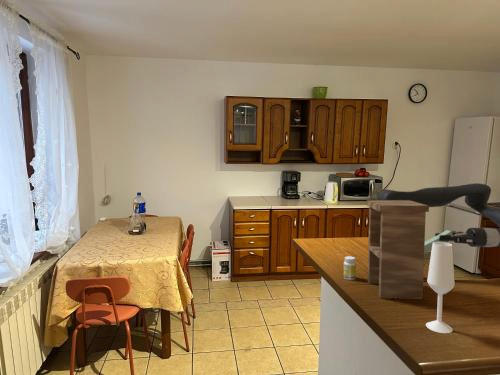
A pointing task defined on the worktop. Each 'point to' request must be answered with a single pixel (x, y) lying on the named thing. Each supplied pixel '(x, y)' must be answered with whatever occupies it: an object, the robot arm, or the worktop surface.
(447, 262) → the champagne flute
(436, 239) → the capped bar
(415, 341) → the worktop surface
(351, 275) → the supplement bottle
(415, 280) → the walnut shelf
